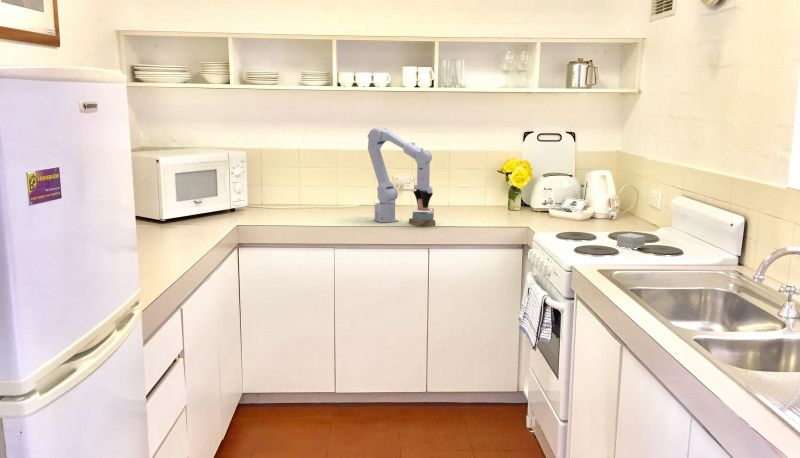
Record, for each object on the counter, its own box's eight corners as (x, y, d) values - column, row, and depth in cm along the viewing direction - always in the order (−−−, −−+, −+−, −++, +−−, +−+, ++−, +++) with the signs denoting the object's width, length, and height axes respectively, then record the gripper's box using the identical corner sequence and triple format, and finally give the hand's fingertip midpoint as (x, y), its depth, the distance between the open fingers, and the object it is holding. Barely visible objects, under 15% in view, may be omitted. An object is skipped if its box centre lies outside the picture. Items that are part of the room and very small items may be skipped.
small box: (628, 245, 276) (629, 232, 275) (644, 248, 269) (646, 236, 268) (616, 247, 271) (616, 234, 270) (632, 250, 265) (633, 237, 264)
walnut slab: (417, 228, 308) (418, 221, 308) (409, 224, 316) (409, 218, 316) (435, 226, 312) (435, 220, 312) (426, 223, 320) (426, 217, 319)
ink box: (433, 207, 331) (430, 211, 320) (433, 217, 332) (429, 222, 321) (416, 207, 333) (412, 211, 322) (416, 217, 334) (412, 221, 322)
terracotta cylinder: (420, 211, 310) (420, 200, 309) (415, 209, 314) (415, 198, 313) (430, 210, 312) (430, 199, 311) (425, 208, 316) (425, 198, 315)
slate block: (419, 221, 309) (419, 214, 309) (413, 218, 315) (413, 212, 315) (433, 220, 312) (433, 213, 312) (426, 217, 318) (426, 211, 318)
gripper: (438, 178, 305) (437, 208, 308) (423, 175, 318) (423, 204, 321) (424, 179, 302) (424, 209, 305) (410, 176, 315) (409, 204, 318)
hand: (422, 206), depth 312 cm, fingers closed on terracotta cylinder, 5 cm apart
